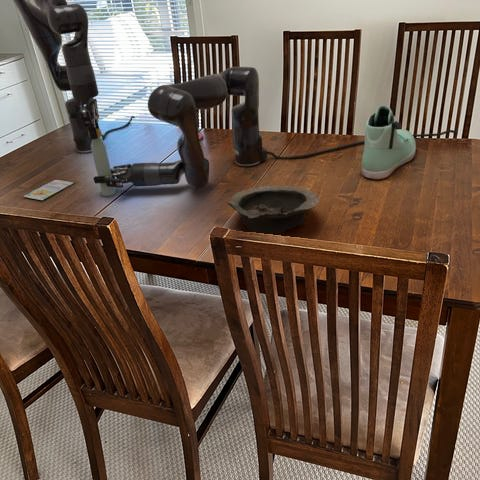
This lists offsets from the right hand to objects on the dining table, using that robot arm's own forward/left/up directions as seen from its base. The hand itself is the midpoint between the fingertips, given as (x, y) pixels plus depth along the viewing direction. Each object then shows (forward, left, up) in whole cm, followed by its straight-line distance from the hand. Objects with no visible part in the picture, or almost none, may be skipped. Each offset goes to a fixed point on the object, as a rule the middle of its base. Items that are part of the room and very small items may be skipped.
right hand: (96, 176), depth 157 cm
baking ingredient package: (+16, -12, -6) cm, 21 cm away
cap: (-3, +1, +15) cm, 15 cm away
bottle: (-2, +1, -6) cm, 7 cm away
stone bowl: (-42, +46, -6) cm, 62 cm away
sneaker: (-95, +27, -6) cm, 99 cm away
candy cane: (-41, -31, -6) cm, 51 cm away
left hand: (-2, +1, +13) cm, 14 cm away
